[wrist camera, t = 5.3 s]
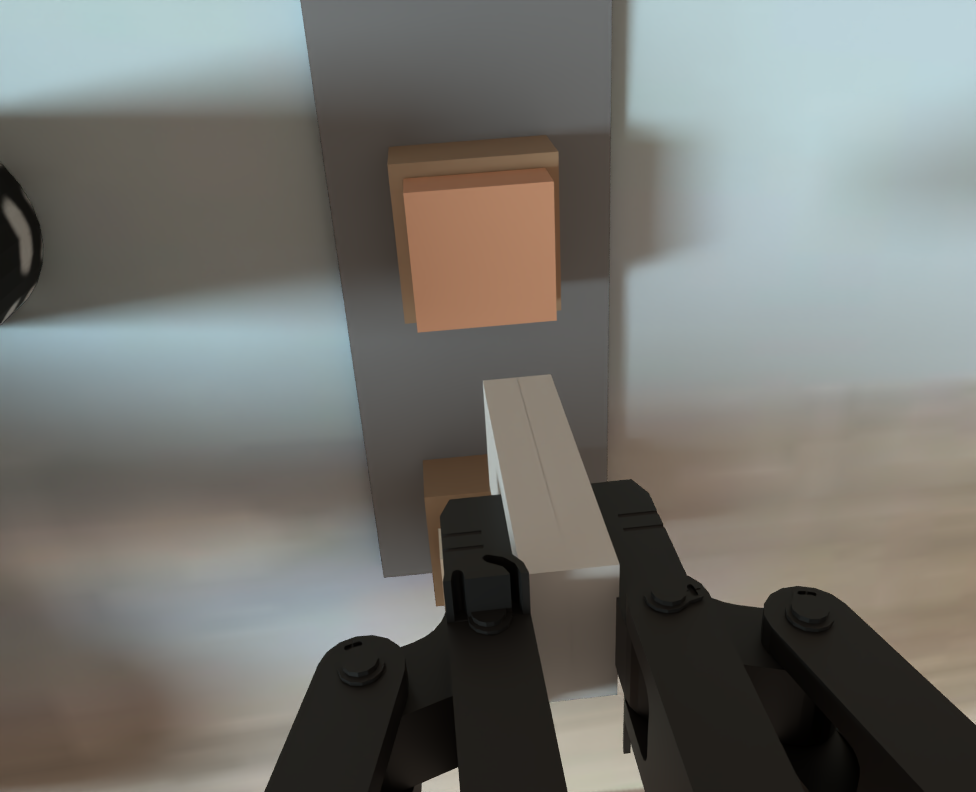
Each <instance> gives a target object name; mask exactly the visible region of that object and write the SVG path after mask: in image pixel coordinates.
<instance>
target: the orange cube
mask: <svg viewBox="0 0 976 792" xmlns="http://www.w3.org/2000/svg"><path fill="white" fill-rule="evenodd" d="M403 196H404V206H405V215H406V225H407V235H408V244H409V254H410V264H411V273H412V283H413V293H414V302H415V312H416V322H417V331H418V333H419V332H430V331H442V330H453V329H465V328H476V327H488V326H499V325H511V324H522V323H534V322H545V321H557V309H556V260H555V211H554V181H553V179H552V178H551V176H550V175H549V173H548V171H547V170H546V168H534V169H521V170H508V171H496V172H483V173H470V174H457V175H444V176H431V177H418V178H405V179H403Z"/></svg>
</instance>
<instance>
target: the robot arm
mask: <svg viewBox="0 0 976 792" xmlns="http://www.w3.org/2000/svg"><path fill="white" fill-rule="evenodd" d="M483 393H484V408H485V423H486V438H487V453H488V468H489V483H490V490H491V495H489V496H479V497H469V498H459V499H449V501H448V503H447V504H446V506H445V508H444V510H443V512H442V513H441V515H440V528H441V541H442V554H443V567H444V578H443V590H444V599H445V609H446V612H445V615H444V617H443V619H442V621H441V623H440V624H439V625H438V626H437V627H436V629H435V630H434V631H432V632H431V633H430V634H428V635H427V636H426V637H424V638H422V639H420V640H418V641H416V642H414V643H411V644H408V645H406V646H403V647H399V646H398V645H397V644H395V643H394V642H392V641H391V640H389V639H388V638H383V637H379V636H374V635H370V636H357V637H354V638H351V639H348V640H345V641H343V642H340V643H339V644H337V645H336V646H334V647H333V648H332V649H330V650H329V651H328V652H327V653H326V654H325V655H324V657H323V658H322V660H321V661H320V663H319V664H318V666H317V669H316V671H315V674H314V676H313V678H312V681H311V683H310V685H309V688H308V690H307V692H306V695H305V697H304V699H303V702H302V704H301V707H300V709H299V711H298V714H297V716H296V718H295V721H294V723H293V725H292V728H291V730H290V733H289V735H288V737H287V740H286V742H285V744H284V747H283V749H282V751H281V754H280V756H279V758H278V761H277V763H276V766H275V768H274V770H273V773H272V775H271V777H270V780H269V782H268V784H267V787H266V789H265V792H421V787H422V782H425V781H427V780H429V779H432V778H434V777H436V776H439V775H441V774H443V773H445V772H448V771H450V770H452V769H455V768H457V767H458V770H459V782H460V792H567V787H566V782H565V777H564V772H563V767H562V762H561V758H560V753H559V748H558V743H557V738H556V733H555V728H554V724H553V719H552V714H551V709H550V704H549V702H557V701H566V700H575V699H583V698H592V697H601V696H609V695H617V679H618V676H619V679H620V682H621V686H622V689H623V692H624V724H623V752H624V754H626V753H630V747H631V745H632V749H633V752H634V755H635V759H636V762H637V766H638V769H639V773H640V776H641V779H642V783H643V786H644V790H645V792H976V725H975V724H974V723H973V722H972V721H971V720H970V719H969V718H968V717H966V716H965V715H964V714H963V713H962V712H961V711H960V710H959V709H958V708H957V707H956V706H955V705H954V704H952V703H951V702H950V701H949V700H948V699H947V698H946V697H945V696H944V695H943V694H942V693H941V692H940V691H939V690H937V689H936V688H935V687H934V686H933V685H932V684H931V683H930V682H929V681H928V680H927V679H926V678H925V677H923V676H922V675H921V674H920V673H919V672H918V671H917V670H916V669H915V668H914V667H913V666H912V665H911V664H909V663H908V662H907V661H906V660H905V659H904V658H903V657H902V656H901V655H900V654H899V653H898V652H897V651H896V650H894V649H893V648H892V647H891V646H890V645H889V644H888V643H887V642H886V641H885V640H884V639H883V638H882V637H880V636H879V635H878V634H877V633H876V632H875V631H874V630H873V629H872V628H871V627H870V626H869V625H868V624H867V623H865V622H864V621H863V620H862V619H861V618H860V617H859V616H858V615H857V614H856V613H855V612H854V611H853V610H851V609H850V608H849V607H848V606H847V605H846V604H845V603H844V602H842V601H841V600H839V599H838V598H836V597H835V596H833V595H832V594H830V593H827V592H824V591H821V590H819V589H816V588H809V587H801V586H795V587H788V588H782V589H780V590H778V591H776V592H774V593H772V594H770V596H769V597H768V599H767V600H766V602H765V603H764V608H757V607H749V606H741V605H735V604H730V603H725V602H722V601H719V600H716V599H714V598H711V596H710V594H709V593H708V591H707V590H706V589H705V588H704V586H703V585H702V584H701V583H699V582H698V581H696V580H694V579H693V578H691V577H689V576H687V575H686V572H685V570H684V568H683V566H682V564H681V562H680V560H679V557H678V555H677V553H676V551H675V549H674V547H673V544H672V542H671V540H670V538H669V536H668V534H667V531H666V529H665V528H664V527H663V523H662V521H661V518H660V516H659V514H657V510H656V508H655V506H654V503H653V501H652V499H651V497H650V495H649V493H648V492H647V491H645V490H644V489H643V488H642V487H640V486H639V485H638V484H637V483H635V482H634V481H633V480H631V479H630V480H620V481H610V482H600V483H590V481H589V478H588V476H587V473H586V470H585V467H584V465H583V462H582V459H581V456H580V454H579V451H578V448H577V445H576V443H575V440H574V437H573V434H572V432H571V429H570V426H569V423H568V420H567V418H566V415H565V412H564V409H563V407H562V404H561V401H560V398H559V396H558V393H557V390H556V387H555V385H554V382H553V379H552V376H551V374H548V375H537V376H526V377H516V378H505V379H494V380H484V381H483Z"/></svg>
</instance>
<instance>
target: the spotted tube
mask: <svg viewBox="0 0 976 792" xmlns="http://www.w3.org/2000/svg"><path fill="white" fill-rule="evenodd" d="M42 260H43V242H42V236H41V231H40V225H39V222H38V220H37V217H36V214H35V212H34V209H33V207H32V204H31V202H30V201H29V199H28V198H27V196H26V194H25V193H24V191H23V189H22V188H21V186H20V184H19V183H18V182H17V181H16V180H15V179H14V177H13V176H12V175H11V174H10V173H9V172H8V171H7V169H6V168H5V167H4V166H3V165H2V164H1V163H0V325H1V324H2V323H3V322H4V321H5V320H6V319H7V318H8V317H10V316H11V315H12V314H13V313H14V312H15V311H16V310H17V309H18V308H19V307H20V306H21V305H22V304H23V303H24V302H25V301H26V299H27V298H28V297H29V296H30V294H31V292H32V290H33V289H34V287H35V285H36V283H37V281H38V278H39V274H40V271H41V267H42Z"/></svg>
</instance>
